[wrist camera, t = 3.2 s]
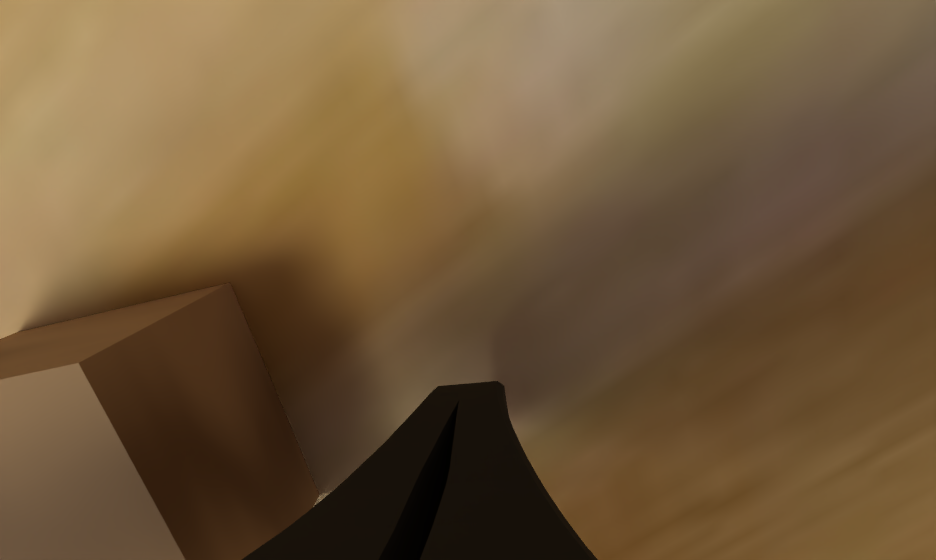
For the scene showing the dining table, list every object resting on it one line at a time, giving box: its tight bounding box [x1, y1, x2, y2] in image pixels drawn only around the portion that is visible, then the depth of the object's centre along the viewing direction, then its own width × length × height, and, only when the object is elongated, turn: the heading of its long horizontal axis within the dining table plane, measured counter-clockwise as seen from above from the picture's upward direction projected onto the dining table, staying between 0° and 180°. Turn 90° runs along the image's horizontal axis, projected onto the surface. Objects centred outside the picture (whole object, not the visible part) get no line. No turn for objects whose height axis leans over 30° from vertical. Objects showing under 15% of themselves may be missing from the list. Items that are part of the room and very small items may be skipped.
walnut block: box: [0, 283, 319, 560], centre depth 10 cm, size 6×6×4 cm
